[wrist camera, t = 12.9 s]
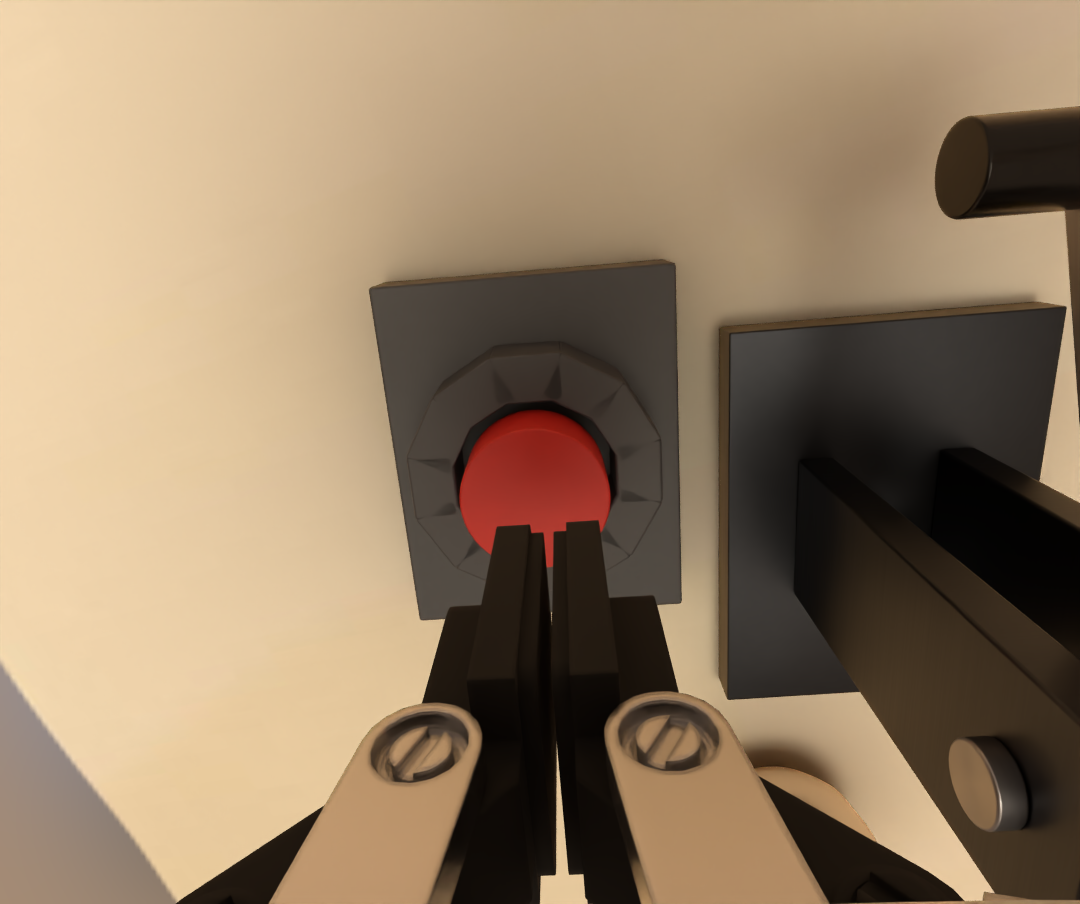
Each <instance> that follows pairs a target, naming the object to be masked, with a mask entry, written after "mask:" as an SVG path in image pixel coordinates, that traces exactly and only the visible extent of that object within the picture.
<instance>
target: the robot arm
mask: <svg viewBox="0 0 1080 904" xmlns="http://www.w3.org/2000/svg"><path fill="white" fill-rule="evenodd" d="M557 749H558V761H559V772H560V783H561V794H562V805H563V816H564V827H565V838H566V849H567V861H568V871H569V875H574V874H584V886H585V898H586V899H587V900H588V904H1080V900H1031V899H1025V898H1019V897H1013V896H1007V895H1001V894H995V893H989V892H984V895H983V901H964V900H963V899H962V898H961V897H960V896H959V895H958V894H957V893H956V892H955V891H954V890H953V889H952V888H951V887H949V886H948V885H947V884H945V883H944V882H942V881H941V880H939V879H938V878H937V877H935V876H934V875H932V874H931V873H929V872H928V871H926V870H924V869H923V868H921V867H919V866H917V865H915V864H914V863H912V862H910V861H908V860H907V859H905V858H903V857H901V856H900V855H898V854H896V853H894V852H893V851H891V850H889V849H887V848H885V847H884V846H882V845H880V844H878V843H877V842H875V841H873V840H871V839H870V838H868V837H866V836H864V835H862V834H861V833H859V832H857V831H855V830H854V829H852V828H850V827H848V826H847V825H845V824H843V823H841V822H840V821H838V820H836V819H834V818H832V817H831V816H829V815H827V814H825V813H824V812H822V811H820V810H818V809H817V808H815V807H813V806H811V805H809V804H808V803H806V802H804V801H802V800H801V799H799V798H797V797H795V796H794V795H792V794H790V793H788V792H786V791H785V790H783V789H781V788H779V787H778V786H776V785H774V784H772V783H771V782H769V781H767V780H765V779H764V778H762V777H760V776H758V774H757V773H756V771H755V769H754V767H753V766H752V764H751V762H750V760H749V758H748V757H747V755H746V753H745V751H744V749H743V748H742V746H741V744H740V742H739V740H738V739H737V737H736V735H735V733H734V731H733V730H732V728H731V726H730V724H729V723H728V721H727V720H726V719H725V718H724V716H723V715H722V714H721V713H720V712H719V711H718V710H717V709H716V708H714V707H713V706H711V705H710V704H708V703H707V702H705V701H704V700H701V699H698V698H696V697H693V696H691V695H688V694H683V693H679V691H678V687H677V683H676V679H675V675H674V671H673V667H672V663H671V659H670V655H669V651H668V647H667V643H666V639H665V635H664V631H663V627H662V623H661V619H660V615H659V611H658V607H657V603H656V600H655V597H654V596H653V595H647V596H629V597H612V598H609V594H608V586H607V579H606V571H605V563H604V556H603V548H602V540H601V533H600V525H599V520H591V521H575V522H566V531H555V532H554V533H553V594H552V622H551V610H550V599H549V587H548V576H547V564H546V553H545V542H544V534H543V532H539V533H531V527H530V524H527V525H511V526H497V528H496V532H495V537H494V542H493V548H492V553H491V558H490V563H489V568H488V573H487V578H486V583H485V588H484V593H483V598H482V603H481V605H471V606H453V607H450V608H449V610H448V612H447V615H446V619H445V622H444V626H443V630H442V633H441V637H440V640H439V644H438V648H437V651H436V655H435V658H434V662H433V666H432V669H431V673H430V676H429V680H428V684H427V687H426V691H425V694H424V698H423V702H422V704H418V705H414V706H410V707H407V708H403V709H401V710H399V711H397V712H395V713H393V714H391V715H388V716H386V717H385V718H384V719H383V720H381V721H380V722H379V723H377V724H376V725H375V726H373V727H372V728H371V730H370V731H369V732H368V733H367V735H366V736H365V737H364V739H363V740H362V741H361V743H360V745H359V746H358V748H357V750H356V752H355V753H354V755H353V757H352V759H351V760H350V762H349V764H348V766H347V767H346V769H345V771H344V773H343V774H342V776H341V778H340V780H339V781H338V783H337V785H336V787H335V788H334V790H333V792H332V794H331V795H330V797H329V799H328V801H327V802H326V804H325V805H324V806H323V807H321V808H320V809H318V810H317V811H315V812H314V813H312V814H311V815H309V816H307V817H306V818H304V819H303V820H301V821H300V822H298V823H297V824H295V825H294V826H292V827H291V828H289V829H288V830H286V831H285V832H283V833H282V834H280V835H279V836H277V837H276V838H274V839H272V840H271V841H269V842H268V843H266V844H265V845H263V846H262V847H260V848H259V849H257V850H256V851H254V852H253V853H251V854H250V855H248V856H247V857H245V858H244V859H242V860H240V861H239V862H237V863H236V864H234V865H233V866H231V867H230V868H228V869H227V870H225V871H224V872H222V873H221V874H219V875H218V876H216V877H215V878H213V879H212V880H210V881H208V882H207V883H205V884H204V885H202V886H201V887H199V888H198V889H196V890H195V891H193V892H192V893H190V894H189V895H187V896H186V897H184V898H183V899H181V900H180V901H179V902H177V903H176V904H540V880H541V876H547V875H556V771H557Z"/></svg>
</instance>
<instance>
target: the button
mask: <svg viewBox="0 0 1080 904" xmlns="http://www.w3.org/2000/svg"><path fill="white" fill-rule="evenodd" d="M459 499H460V509H461V514H462V517H463V520H464V523H465V525H466V527H467V529H468V531H469V533H470V534H471V536H472V537H473V538H474V540H475V541H476V542H477V543H478V544H479V545H480V546H481V547H482V548H483V549H484V550H485V551H486V552H488V553H489V554H491V553H492V548H493V542H494V537H495V532H496V528H497V526H511V525H527V524H530V527H531V533H539V532H543V534H544V542H545V553H546V564H547V567H553V533H554V532H555V531H566V522H575V521H591V520H599V525H600V533H601V532H602V530H603V528H604V526H605V524H606V522H607V518H608V515H609V510H610V504H611V494H610V486H609V482H608V478H607V473H606V469H605V465H604V461H603V458H602V454H601V452H600V449H599V447H598V445H597V444H596V442H595V440H594V439H593V438H592V436H591V435H590V434H589V433H588V432H587V431H586V430H585V429H584V428H583V427H582V426H581V425H580V424H578V423H577V422H575V421H574V420H572V419H570V418H569V417H567V416H564V415H562V414H559V413H556V412H552V411H546V410H525V411H519V412H516V413H512V414H510V415H507V416H505V417H503V418H501V419H499V420H498V421H496V422H494V423H493V424H492V425H491V426H489V427H488V428H487V429H486V430H485V431H484V432H483V433H482V434H481V436H480V437H479V438H478V440H477V441H476V443H475V445H474V447H473V449H472V451H471V454H470V456H469V459H468V463H467V466H466V469H465V472H464V475H463V478H462V482H461V486H460V496H459Z"/></svg>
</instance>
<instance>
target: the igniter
mask: <svg viewBox="0 0 1080 904" xmlns="http://www.w3.org/2000/svg"><path fill="white" fill-rule="evenodd" d="M369 293H370V300H371V306H372V313H373V319H374V326H375V332H376V339H377V345H378V352H379V358H380V364H381V371H382V377H383V384H384V390H385V397H386V403H387V410H388V416H389V423H390V429H391V435H392V442H393V448H394V455H395V461H396V468H397V474H398V481H399V487H400V494H401V500H402V506H403V513H404V519H405V526H406V532H407V539H408V545H409V552H410V558H411V565H412V571H413V577H414V584H415V590H416V597H417V603H418V610H419V616H420V619H421V620H436V619H446V615H447V612H448V610H449V608H450V607H453V606H471V605H481V603H482V598H483V593H484V588H485V583H486V578H487V573H488V568H489V563H490V558H491V554H489V553H488V552H486V551H485V550H484V549H483V548H482V547H481V546H480V545H479V544H478V543H477V542H476V541H475V540H474V538H473V537H472V536H471V534H470V533H469V531H468V529H467V527H466V525H465V523H464V520H463V517H462V514H461V509H460V499H459V496H460V486H461V482H462V478H463V475H464V472H465V469H466V466H467V463H468V459H469V456H470V454H471V451H472V449H473V447H474V445H475V443H476V441H477V440H478V438H479V437H480V436H481V434H482V433H483V432H484V431H485V430H486V429H487V428H488V427H489V426H491V425H492V424H493V423H494V422H496V421H498V420H499V419H501V418H503V417H505V416H507V415H510V414H512V413H516V412H519V411H525V410H546V411H552V412H556V413H559V414H562V415H564V416H567V417H569V418H570V419H572V420H574V421H575V422H577V423H578V424H580V425H581V426H582V427H583V428H584V429H585V430H586V431H587V432H588V433H589V434H590V435H591V436H592V438H593V439H594V440H595V442H596V444H597V445H598V447H599V449H600V452H601V454H602V458H603V461H604V465H605V469H606V473H607V478H608V482H609V486H610V494H611V504H610V510H609V515H608V518H607V522H606V524H605V526H604V528H603V530H602V532H601V540H602V548H603V556H604V563H605V571H606V579H607V586H608V594H609V598H612V597H629V596H647V595H653V596H654V597H655V600H656V603H657V605H663V604H678V603H681V601H682V592H681V536H680V481H679V425H678V369H677V313H676V265H675V263H672V262H669V261H666V260H652V261H639V262H627V263H615V264H603V265H591V266H579V267H567V268H555V269H543V270H530V271H518V272H506V273H494V274H482V275H470V276H458V277H446V278H434V279H421V280H409V281H397V282H385V283H382V284H379V285H377V286H374V287H371V288H370V289H369ZM547 576H548V587H549V599H550V610H551V612H552V594H553V567H547Z"/></svg>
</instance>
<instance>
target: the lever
mask: <svg viewBox="0 0 1080 904" xmlns="http://www.w3.org/2000/svg"><path fill="white" fill-rule="evenodd" d="M935 191H936V197H937V201H938V204H939V206H940V208H941V210H942V211H943V213H944V214H945V215H946V216H948V217H950V218H952V219H971V218H983V217H995V216H1007V215H1019V214H1031V213H1043V212H1055V211H1065V220H1066V234H1067V248H1068V263H1069V277H1070V292H1071V306H1072V321H1073V335H1074V350H1075V364H1076V379H1077V393H1078V407H1079V422H1080V106H1077V107H1065V108H1054V109H1043V110H1031V111H1020V112H1009V113H997V114H986V115H975V116H968V117H965V118H963V119H961V120H960V121H958V122H957V123H956V124H955V125H954V126H953V127H952V128H951V129H950V131H949V132H948V134H947V135H946V137H945V139H944V141H943V144H942V146H941V149H940V152H939V155H938V159H937V164H936V170H935Z"/></svg>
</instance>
